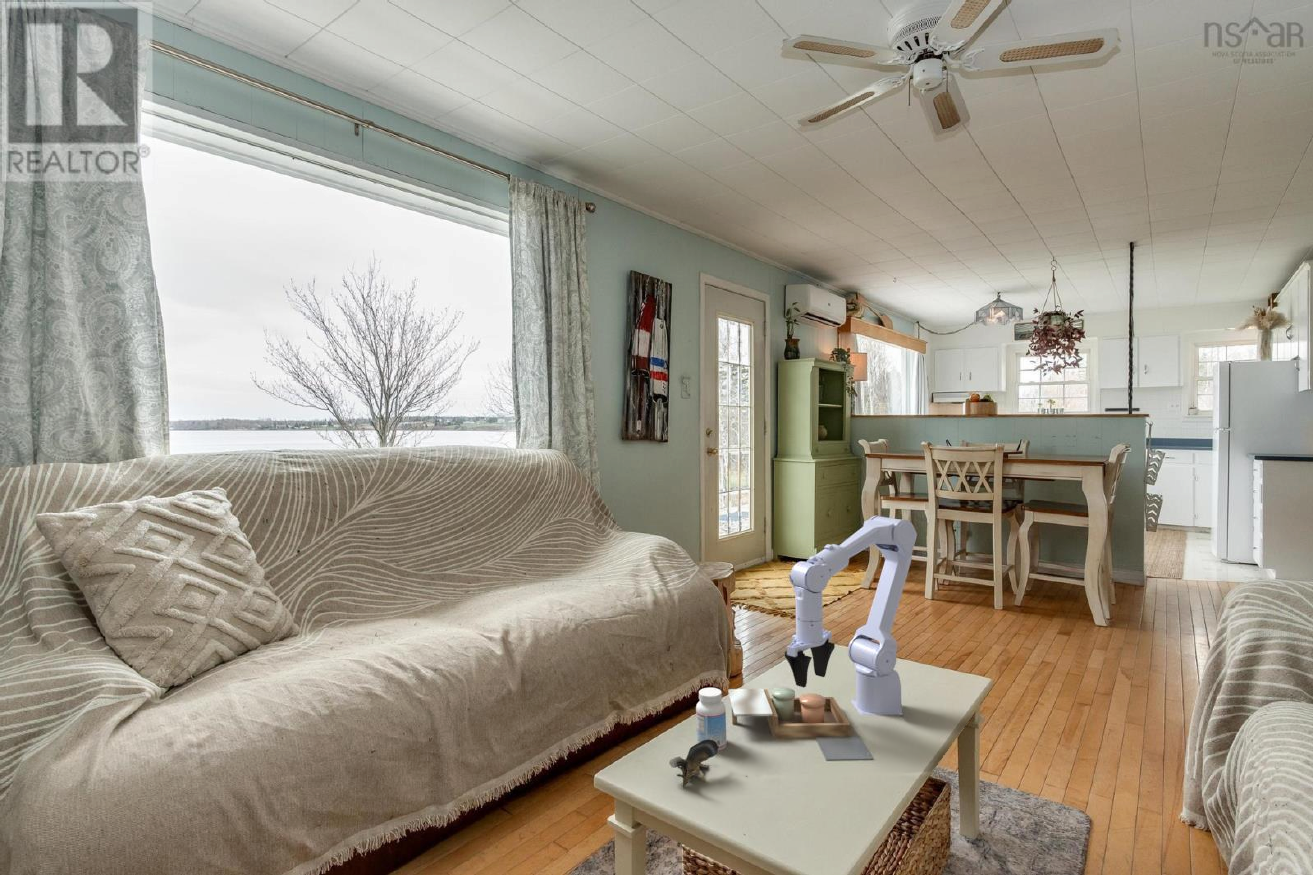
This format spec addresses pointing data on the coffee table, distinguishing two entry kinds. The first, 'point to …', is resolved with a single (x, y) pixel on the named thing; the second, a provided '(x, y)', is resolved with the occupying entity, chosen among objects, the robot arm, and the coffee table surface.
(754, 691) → the cold frame
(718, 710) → the pill bottle
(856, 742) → the slate tile
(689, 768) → the squirrel figurine
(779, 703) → the mint green knob
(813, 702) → the peach rounded knob
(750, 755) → the coffee table surface
